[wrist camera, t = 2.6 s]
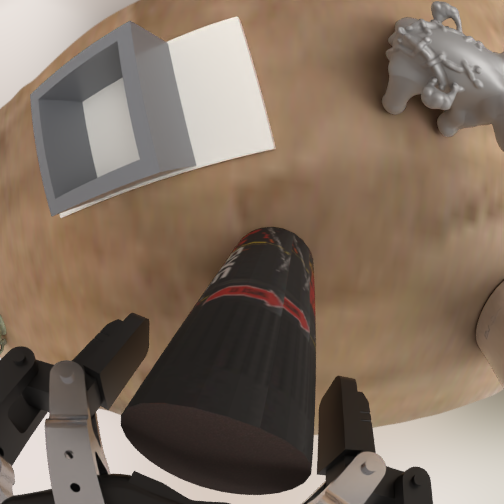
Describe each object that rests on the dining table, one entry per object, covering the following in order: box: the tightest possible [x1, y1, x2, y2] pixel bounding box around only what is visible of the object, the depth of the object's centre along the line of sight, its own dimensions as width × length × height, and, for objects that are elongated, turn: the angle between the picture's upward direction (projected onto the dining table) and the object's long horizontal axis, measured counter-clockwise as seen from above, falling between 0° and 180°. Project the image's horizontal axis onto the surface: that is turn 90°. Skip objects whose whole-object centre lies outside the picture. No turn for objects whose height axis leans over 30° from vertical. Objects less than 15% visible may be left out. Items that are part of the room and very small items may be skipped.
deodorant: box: [121, 227, 316, 495], centre depth 13 cm, size 6×6×15 cm
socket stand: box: [30, 16, 276, 218], centre depth 16 cm, size 20×10×6 cm, turn 104°
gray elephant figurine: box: [382, 1, 504, 151], centre depth 10 cm, size 9×12×8 cm
